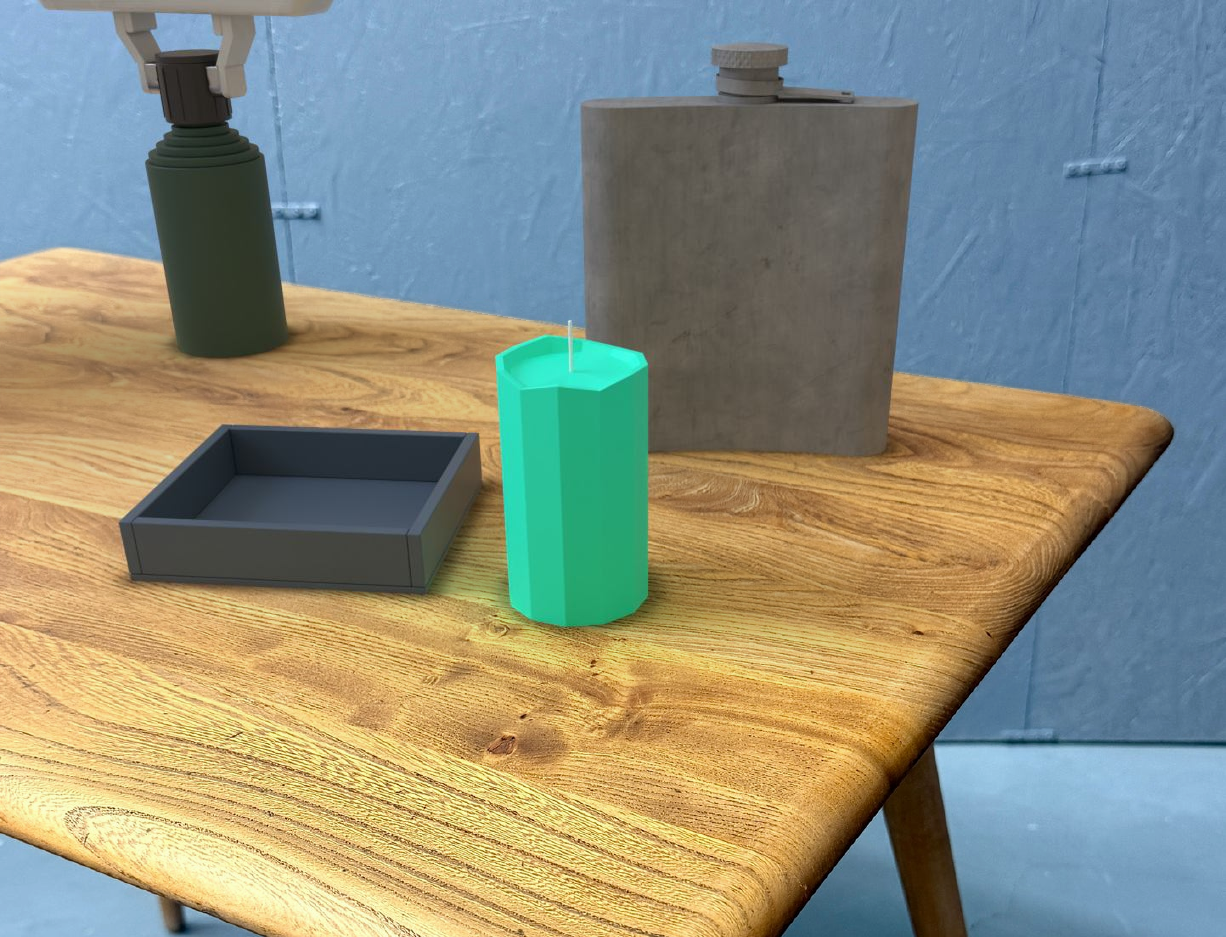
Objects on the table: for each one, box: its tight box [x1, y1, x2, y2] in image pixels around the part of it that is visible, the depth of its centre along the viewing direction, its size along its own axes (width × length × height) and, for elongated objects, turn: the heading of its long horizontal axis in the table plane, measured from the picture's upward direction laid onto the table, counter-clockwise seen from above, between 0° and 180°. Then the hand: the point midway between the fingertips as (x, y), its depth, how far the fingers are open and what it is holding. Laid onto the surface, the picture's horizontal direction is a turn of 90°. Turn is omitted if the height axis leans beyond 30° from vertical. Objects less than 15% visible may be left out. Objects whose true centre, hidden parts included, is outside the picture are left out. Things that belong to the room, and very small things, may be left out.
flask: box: [144, 121, 290, 359], centre depth 83 cm, size 7×7×18 cm
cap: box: [155, 48, 233, 125], centre depth 80 cm, size 4×4×4 cm
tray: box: [118, 423, 483, 596], centre depth 61 cm, size 13×12×3 cm
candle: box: [494, 319, 649, 628], centre depth 53 cm, size 6×6×12 cm
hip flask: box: [579, 41, 920, 458], centre depth 66 cm, size 16×4×20 cm, turn 87°
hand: (195, 95), depth 80 cm, fingers closed on cap, 4 cm apart
